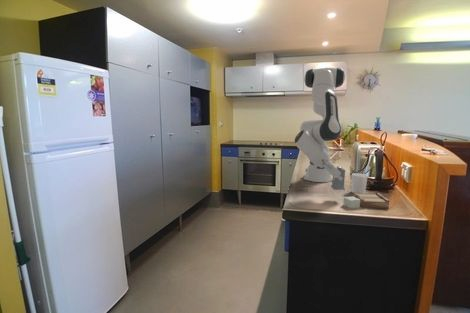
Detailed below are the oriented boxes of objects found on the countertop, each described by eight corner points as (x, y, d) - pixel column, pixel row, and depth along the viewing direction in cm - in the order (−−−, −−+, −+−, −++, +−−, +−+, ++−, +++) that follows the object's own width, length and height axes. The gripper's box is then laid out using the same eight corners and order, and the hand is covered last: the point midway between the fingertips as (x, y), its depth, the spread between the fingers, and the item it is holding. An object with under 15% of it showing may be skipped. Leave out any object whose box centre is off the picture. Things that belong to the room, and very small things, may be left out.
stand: (352, 199, 134) (353, 192, 133) (377, 200, 132) (378, 192, 132) (361, 207, 122) (361, 199, 121) (388, 208, 121) (389, 200, 120)
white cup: (367, 192, 147) (368, 174, 145) (364, 195, 140) (366, 177, 139) (351, 189, 151) (353, 172, 150) (348, 193, 145) (350, 175, 143)
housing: (331, 186, 135) (332, 165, 133) (341, 187, 135) (343, 166, 133) (333, 189, 130) (335, 168, 128) (344, 190, 130) (346, 168, 128)
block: (343, 205, 125) (343, 197, 125) (352, 204, 126) (353, 196, 126) (350, 208, 120) (350, 200, 120) (359, 208, 122) (360, 199, 121)
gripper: (330, 157, 120) (351, 179, 121) (321, 150, 140) (339, 169, 141) (319, 167, 121) (340, 188, 122) (312, 158, 141) (330, 177, 142)
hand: (339, 178), depth 131 cm, fingers closed on housing, 4 cm apart
